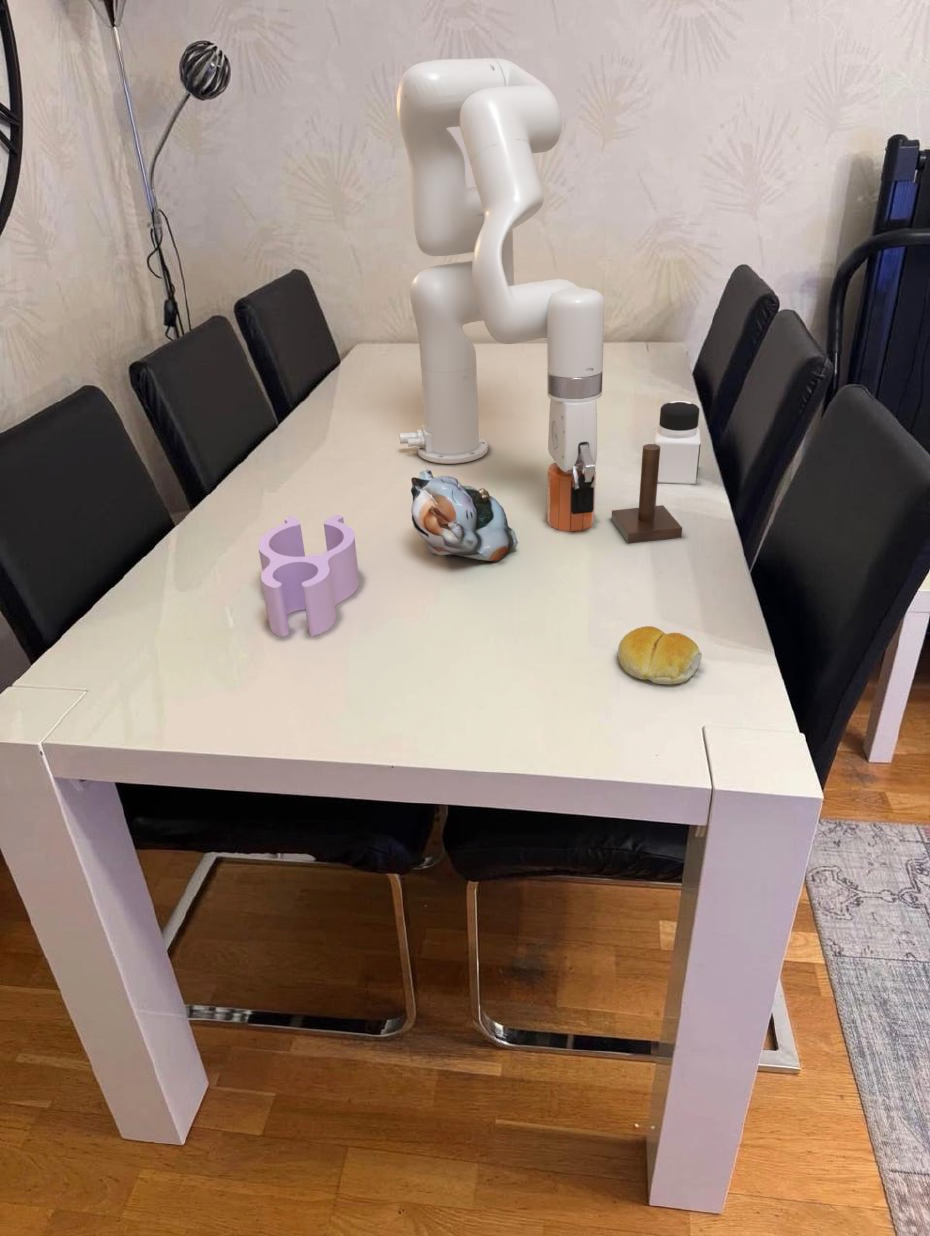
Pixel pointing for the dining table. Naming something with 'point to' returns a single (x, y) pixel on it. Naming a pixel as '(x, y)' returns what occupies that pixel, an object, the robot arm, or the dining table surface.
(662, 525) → the stand
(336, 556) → the clip
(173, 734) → the dining table surface
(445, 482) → the lucky cat figurine
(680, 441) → the medicine bottle
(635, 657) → the bread roll
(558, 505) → the cup
